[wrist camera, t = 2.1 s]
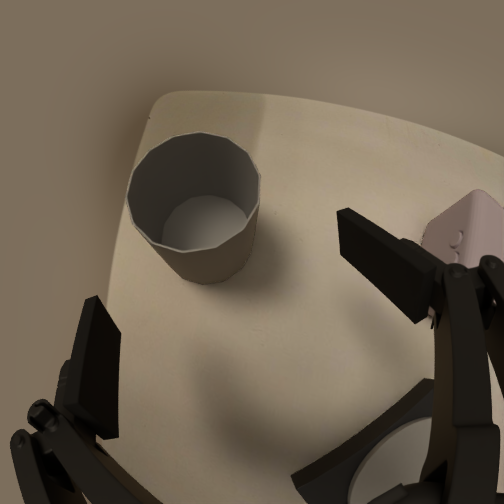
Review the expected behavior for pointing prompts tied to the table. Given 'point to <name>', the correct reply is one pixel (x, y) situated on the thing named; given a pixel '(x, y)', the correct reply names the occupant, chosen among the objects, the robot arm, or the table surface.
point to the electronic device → (467, 231)
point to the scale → (374, 455)
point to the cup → (197, 204)
